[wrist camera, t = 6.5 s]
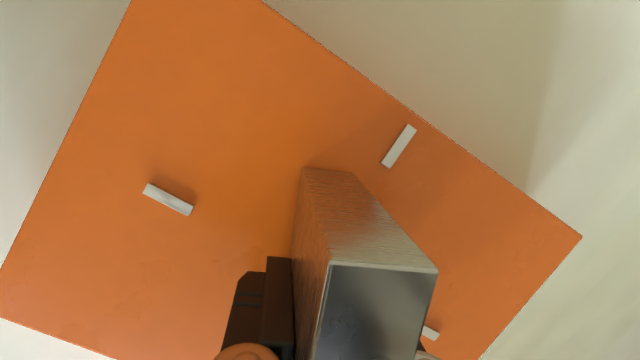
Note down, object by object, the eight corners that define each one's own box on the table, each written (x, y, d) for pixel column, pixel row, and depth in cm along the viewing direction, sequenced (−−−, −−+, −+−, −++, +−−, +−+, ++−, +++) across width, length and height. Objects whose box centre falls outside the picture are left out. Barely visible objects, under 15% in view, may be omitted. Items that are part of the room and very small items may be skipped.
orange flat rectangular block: (523, 207, 14) (588, 238, 11) (372, 395, 16) (393, 465, 13) (196, -26, 10) (161, -75, 7) (49, 259, 12) (-27, 314, 9)
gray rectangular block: (301, 165, 9) (332, 270, 4) (353, 171, 10) (451, 279, 4) (273, 357, 11) (267, 618, 6) (318, 358, 11) (353, 609, 6)
